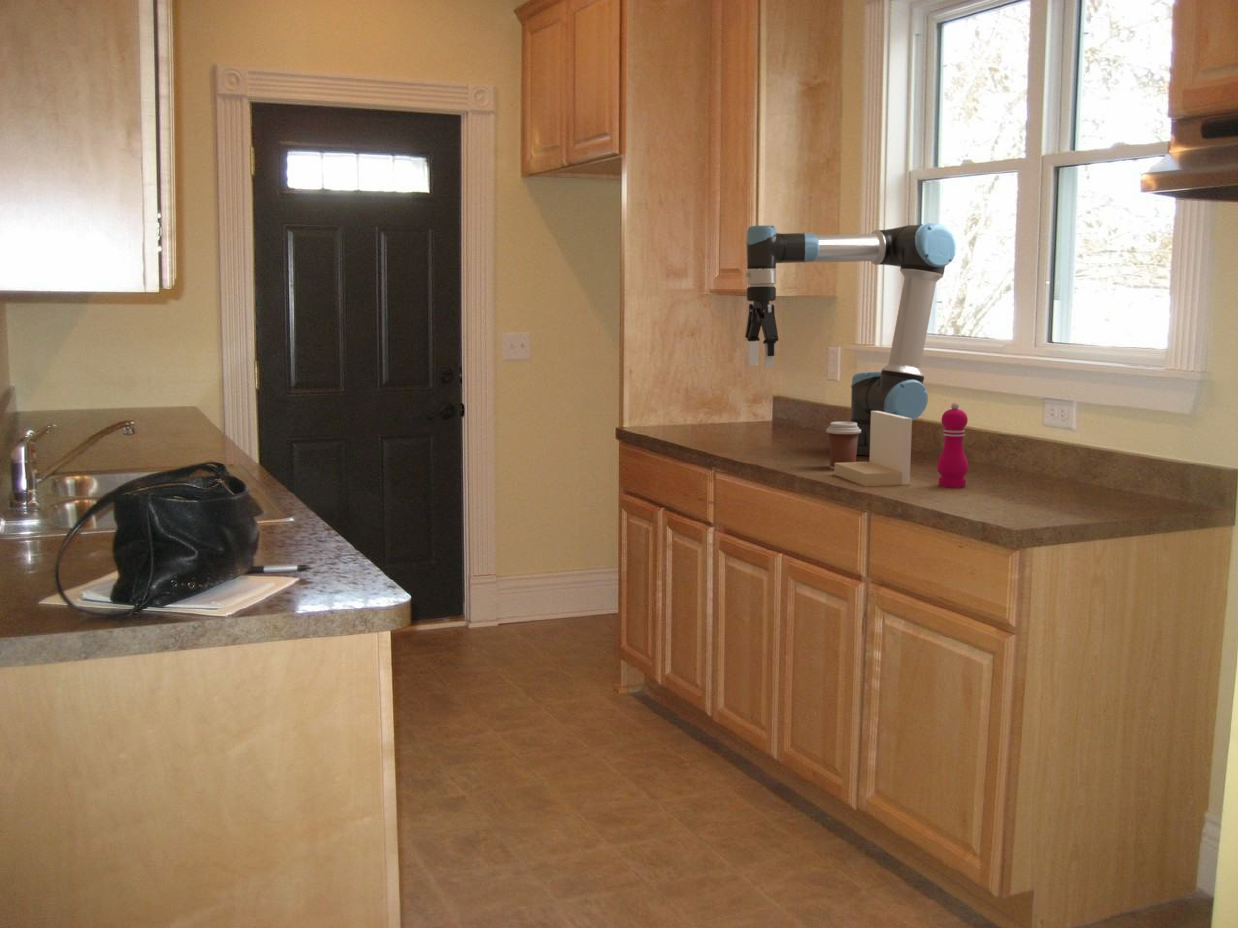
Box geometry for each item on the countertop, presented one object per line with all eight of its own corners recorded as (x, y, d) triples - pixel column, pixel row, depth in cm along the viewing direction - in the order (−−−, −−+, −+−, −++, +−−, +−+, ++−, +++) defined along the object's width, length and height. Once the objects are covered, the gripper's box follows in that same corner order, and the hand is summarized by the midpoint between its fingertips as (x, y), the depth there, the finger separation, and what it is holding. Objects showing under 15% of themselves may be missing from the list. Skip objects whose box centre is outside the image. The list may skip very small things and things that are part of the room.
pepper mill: (951, 489, 290) (954, 404, 287) (930, 484, 296) (932, 401, 293) (974, 486, 293) (977, 403, 290) (953, 482, 299) (956, 400, 296)
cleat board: (876, 473, 315) (878, 410, 312) (909, 484, 296) (911, 418, 294) (834, 474, 312) (835, 411, 310) (865, 486, 294) (867, 419, 292)
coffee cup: (821, 469, 321) (822, 424, 319) (829, 465, 329) (830, 420, 327) (856, 471, 317) (857, 425, 316) (863, 466, 326) (864, 421, 324)
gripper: (733, 286, 333) (734, 364, 336) (762, 286, 308) (762, 370, 312) (760, 285, 334) (760, 363, 337) (791, 285, 310) (790, 369, 313)
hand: (761, 367), depth 324 cm, fingers open, 13 cm apart
